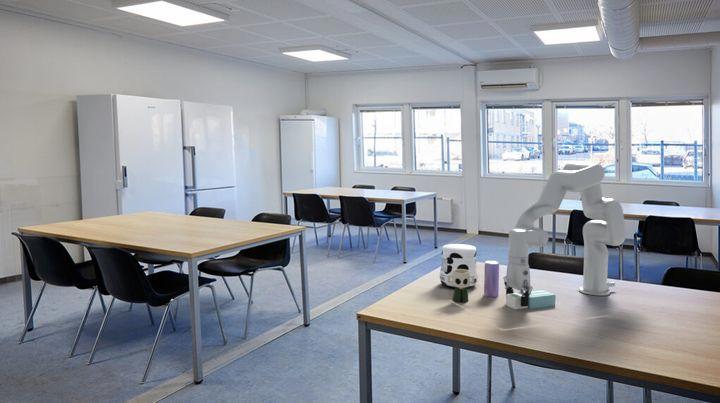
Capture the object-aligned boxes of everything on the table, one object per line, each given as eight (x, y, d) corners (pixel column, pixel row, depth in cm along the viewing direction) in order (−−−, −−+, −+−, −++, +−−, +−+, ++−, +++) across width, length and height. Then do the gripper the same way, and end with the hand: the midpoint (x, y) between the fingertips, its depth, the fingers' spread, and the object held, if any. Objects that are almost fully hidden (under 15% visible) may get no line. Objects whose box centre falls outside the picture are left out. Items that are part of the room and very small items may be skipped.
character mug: (448, 304, 219) (448, 272, 218) (446, 298, 226) (446, 268, 225) (475, 304, 218) (475, 273, 217) (472, 299, 225) (473, 269, 224)
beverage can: (498, 298, 226) (499, 263, 224) (484, 298, 227) (484, 263, 225) (498, 294, 232) (498, 260, 230) (483, 294, 233) (484, 260, 231)
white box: (518, 303, 217) (518, 292, 217) (527, 307, 212) (528, 296, 211) (505, 305, 215) (506, 294, 215) (514, 309, 210) (515, 298, 209)
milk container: (483, 284, 249) (483, 245, 247) (469, 293, 235) (470, 252, 233) (448, 279, 258) (448, 242, 256) (433, 287, 244) (433, 248, 242)
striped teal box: (542, 300, 222) (542, 289, 222) (555, 305, 215) (555, 294, 214) (517, 303, 218) (517, 292, 218) (530, 308, 211) (530, 297, 210)
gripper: (540, 264, 205) (538, 307, 206) (512, 255, 221) (511, 295, 223) (523, 265, 202) (522, 310, 204) (497, 256, 218) (496, 297, 220)
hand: (516, 302), depth 213 cm, fingers open, 9 cm apart
